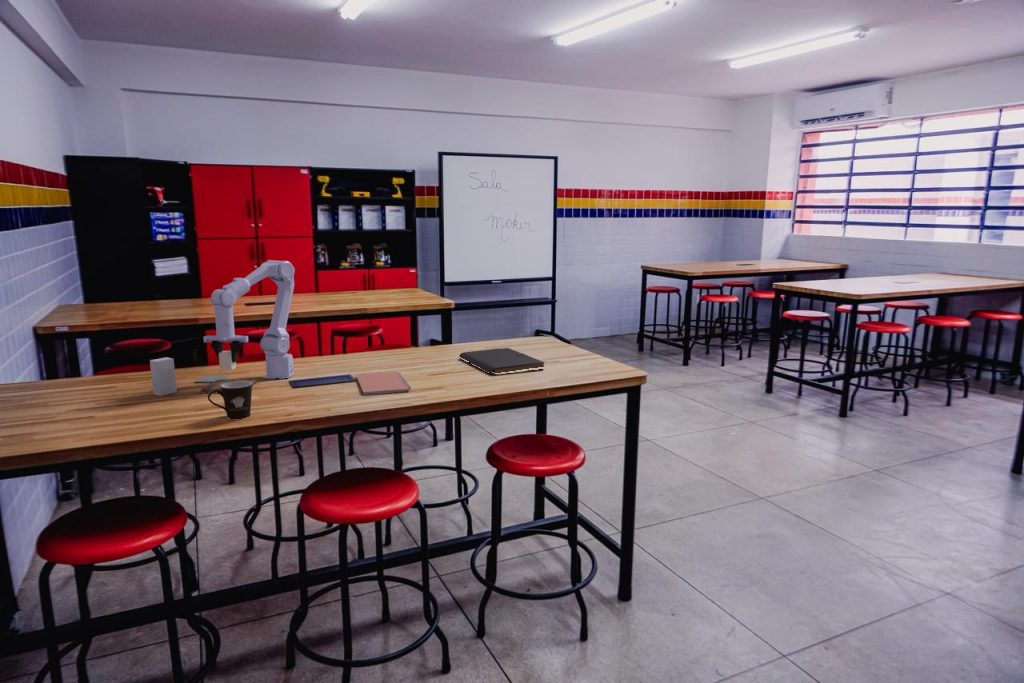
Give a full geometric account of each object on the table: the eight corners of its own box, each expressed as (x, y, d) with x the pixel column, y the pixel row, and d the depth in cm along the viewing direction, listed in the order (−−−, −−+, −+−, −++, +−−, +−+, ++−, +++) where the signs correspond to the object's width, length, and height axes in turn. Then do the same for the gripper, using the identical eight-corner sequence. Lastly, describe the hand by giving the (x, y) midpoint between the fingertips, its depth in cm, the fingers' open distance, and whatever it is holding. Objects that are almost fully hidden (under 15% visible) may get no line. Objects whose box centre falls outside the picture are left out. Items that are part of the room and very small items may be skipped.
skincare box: (170, 390, 216) (167, 356, 214) (177, 392, 214) (174, 358, 212) (152, 394, 211) (149, 360, 209) (159, 396, 209) (156, 361, 207)
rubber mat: (229, 376, 236) (229, 375, 236) (219, 382, 228) (219, 381, 228) (205, 376, 236) (205, 375, 236) (194, 382, 227) (194, 381, 227)
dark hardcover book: (545, 361, 254) (491, 367, 243) (545, 371, 255) (492, 377, 244) (508, 346, 283) (459, 352, 272) (508, 355, 284) (459, 361, 273)
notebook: (412, 393, 219) (412, 387, 219) (363, 397, 214) (363, 391, 213) (400, 375, 244) (400, 370, 244) (356, 378, 239) (355, 373, 239)
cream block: (236, 367, 221) (234, 350, 220) (231, 369, 218) (230, 353, 216) (224, 367, 221) (223, 350, 220) (220, 369, 217) (218, 353, 216)
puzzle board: (256, 383, 227) (256, 379, 227) (243, 393, 215) (242, 388, 214) (217, 383, 227) (217, 379, 226) (201, 393, 214) (201, 388, 214)
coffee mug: (258, 412, 193) (256, 381, 191) (247, 420, 185) (245, 388, 183) (220, 412, 193) (218, 380, 191) (208, 420, 184) (205, 388, 183)
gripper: (198, 325, 212) (201, 364, 215) (241, 325, 213) (244, 364, 215) (207, 322, 219) (210, 360, 222) (249, 322, 220) (251, 360, 222)
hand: (227, 362), depth 219 cm, fingers closed on cream block, 4 cm apart
